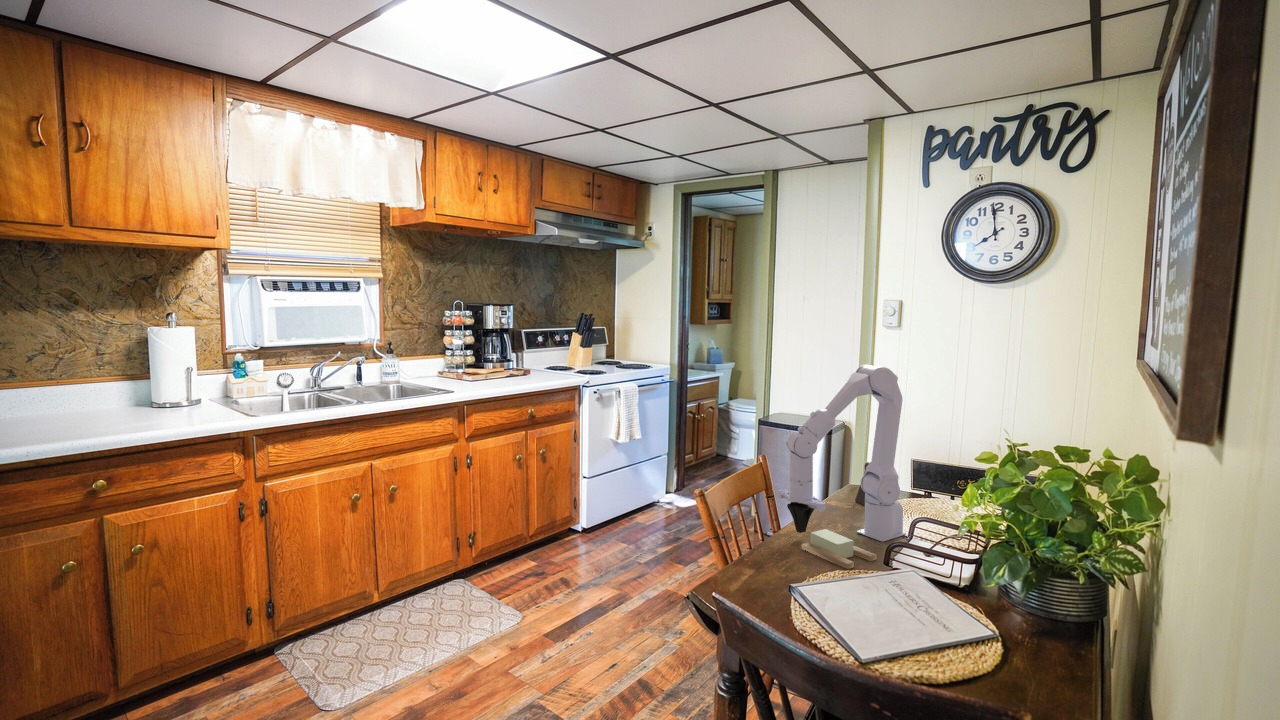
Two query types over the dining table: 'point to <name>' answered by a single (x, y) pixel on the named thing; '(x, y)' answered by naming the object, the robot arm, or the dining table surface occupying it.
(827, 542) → the green block
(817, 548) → the twin beige rails
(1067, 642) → the dining table surface
